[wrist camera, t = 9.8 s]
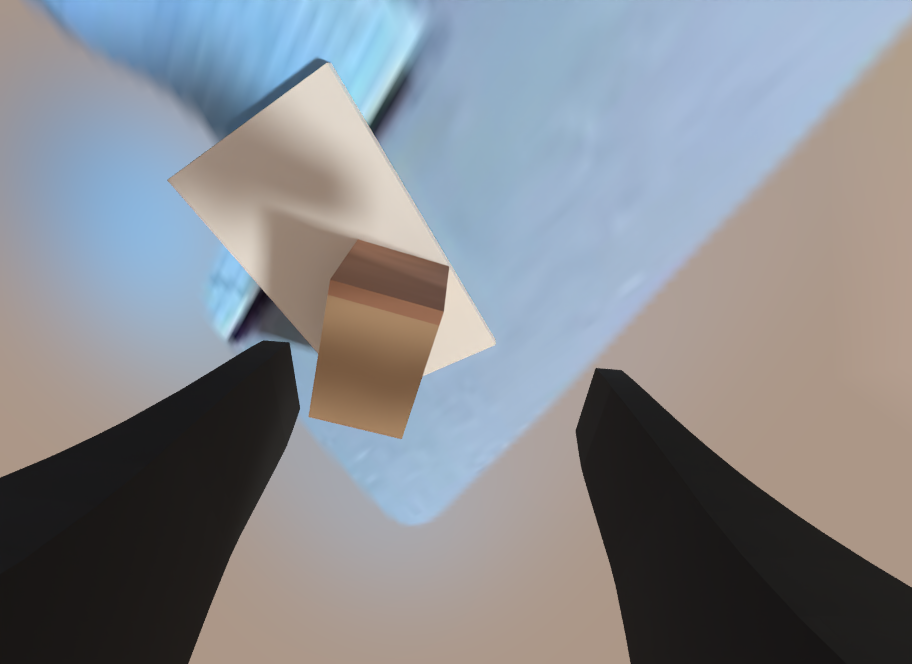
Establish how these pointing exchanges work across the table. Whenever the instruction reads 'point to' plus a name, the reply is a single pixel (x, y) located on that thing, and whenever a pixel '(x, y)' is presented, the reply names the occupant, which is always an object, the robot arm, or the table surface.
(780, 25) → the table surface
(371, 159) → the beige board
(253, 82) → the table surface
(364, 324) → the walnut block
